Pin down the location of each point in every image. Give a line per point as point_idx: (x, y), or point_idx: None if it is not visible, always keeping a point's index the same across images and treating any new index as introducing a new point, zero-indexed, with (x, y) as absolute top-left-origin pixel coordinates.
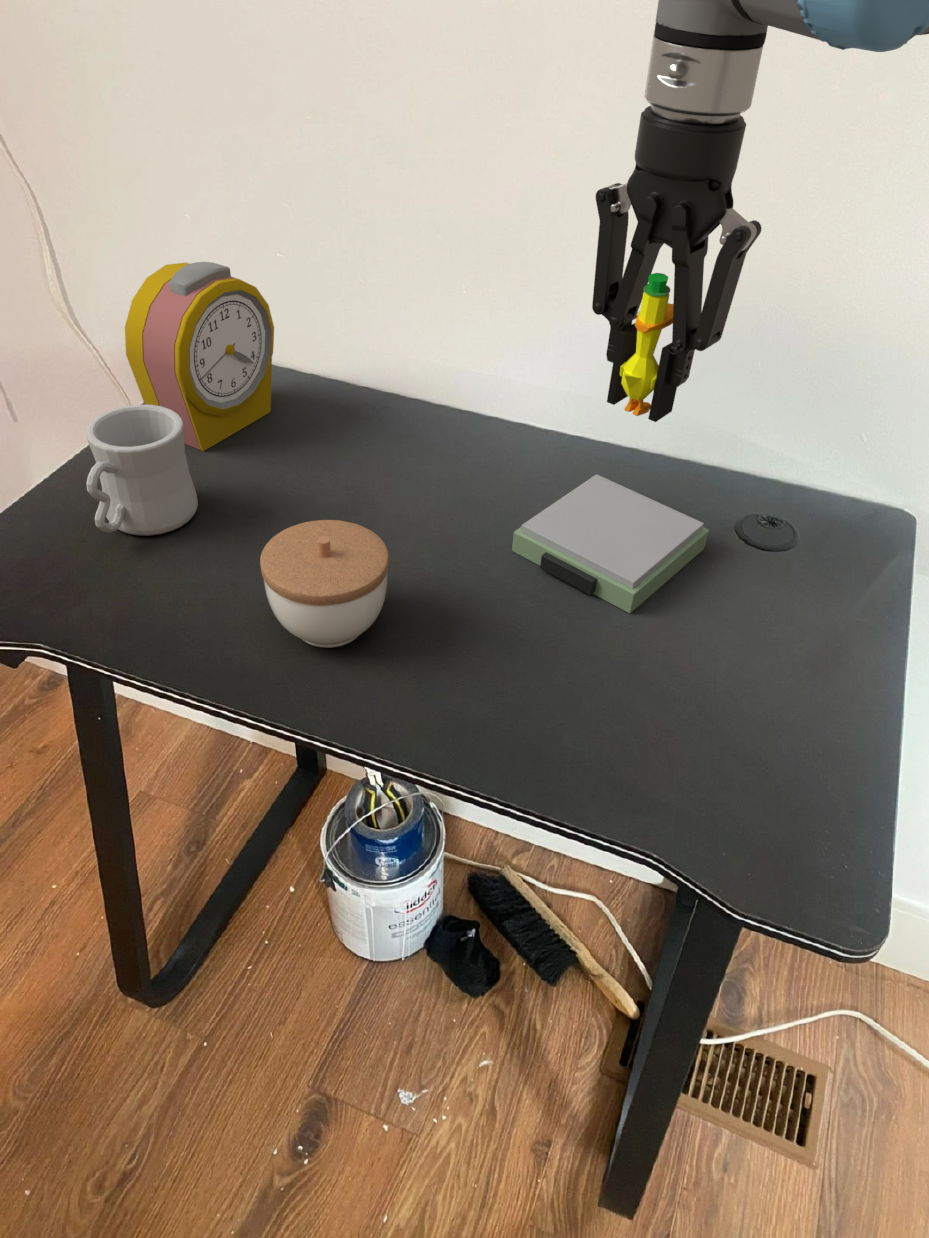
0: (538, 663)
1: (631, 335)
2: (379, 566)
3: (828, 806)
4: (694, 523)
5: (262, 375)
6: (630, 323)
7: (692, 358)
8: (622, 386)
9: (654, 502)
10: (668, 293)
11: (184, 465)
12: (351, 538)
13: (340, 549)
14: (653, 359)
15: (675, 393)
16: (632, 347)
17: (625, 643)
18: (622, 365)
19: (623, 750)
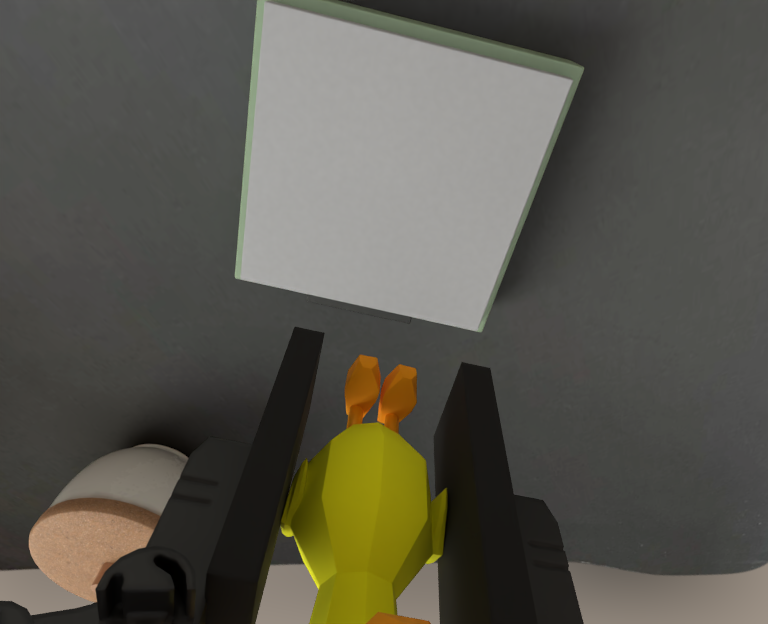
0: (398, 433)
1: (254, 614)
2: None
3: (753, 478)
4: (550, 94)
5: None
6: (201, 619)
7: (577, 607)
8: (304, 423)
9: (441, 56)
10: None
11: None
12: (108, 537)
13: (117, 556)
14: (401, 584)
15: (498, 417)
16: (274, 532)
17: (488, 364)
18: (287, 534)
19: (529, 493)
